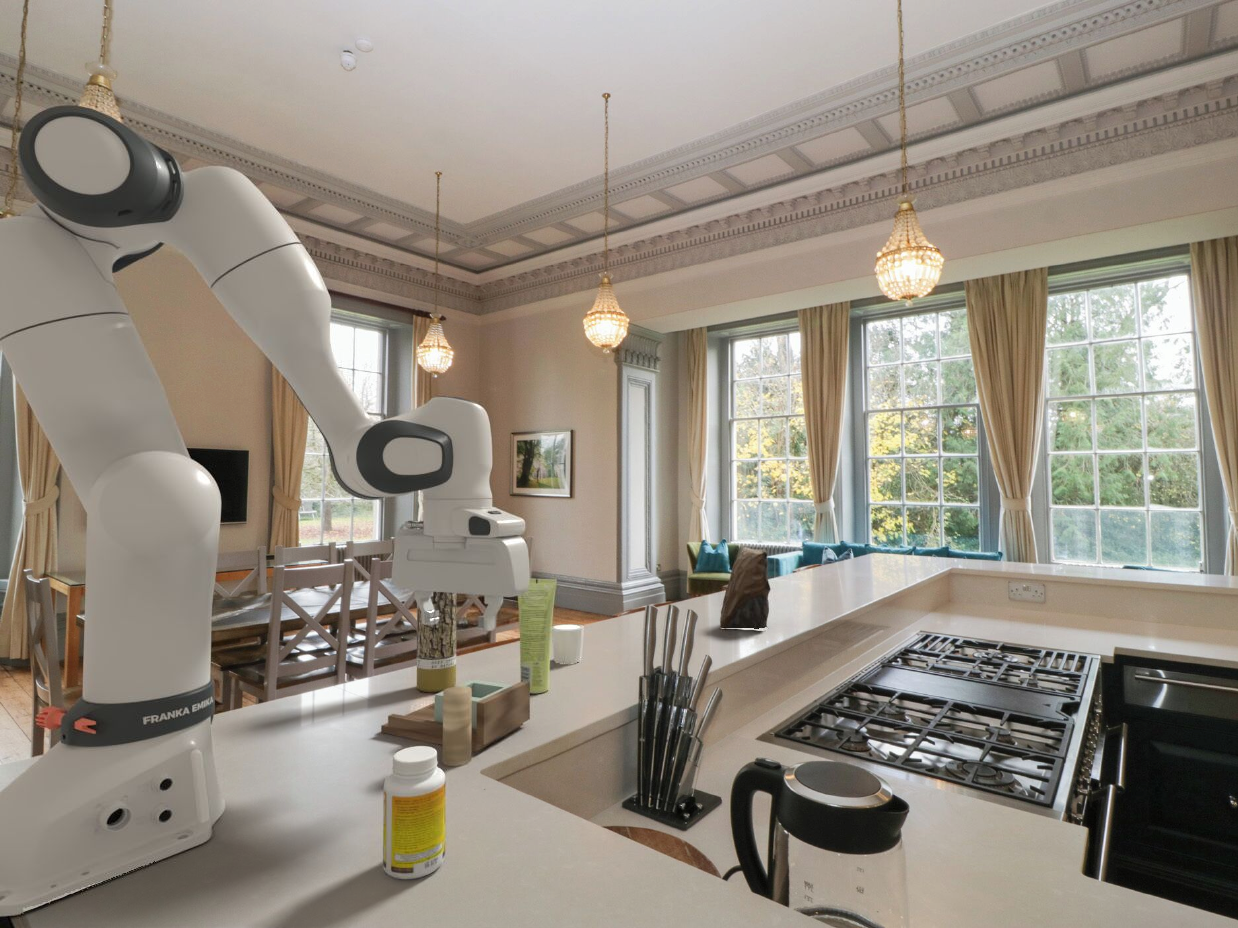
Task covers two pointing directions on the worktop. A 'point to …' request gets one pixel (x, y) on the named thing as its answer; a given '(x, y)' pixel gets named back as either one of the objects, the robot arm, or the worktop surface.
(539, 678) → the tube
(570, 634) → the white short cylinder
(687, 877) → the worktop surface
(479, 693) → the socket block
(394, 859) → the supplement bottle
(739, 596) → the brown rock
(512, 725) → the wooden tray
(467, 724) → the dowel
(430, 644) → the paper tube
